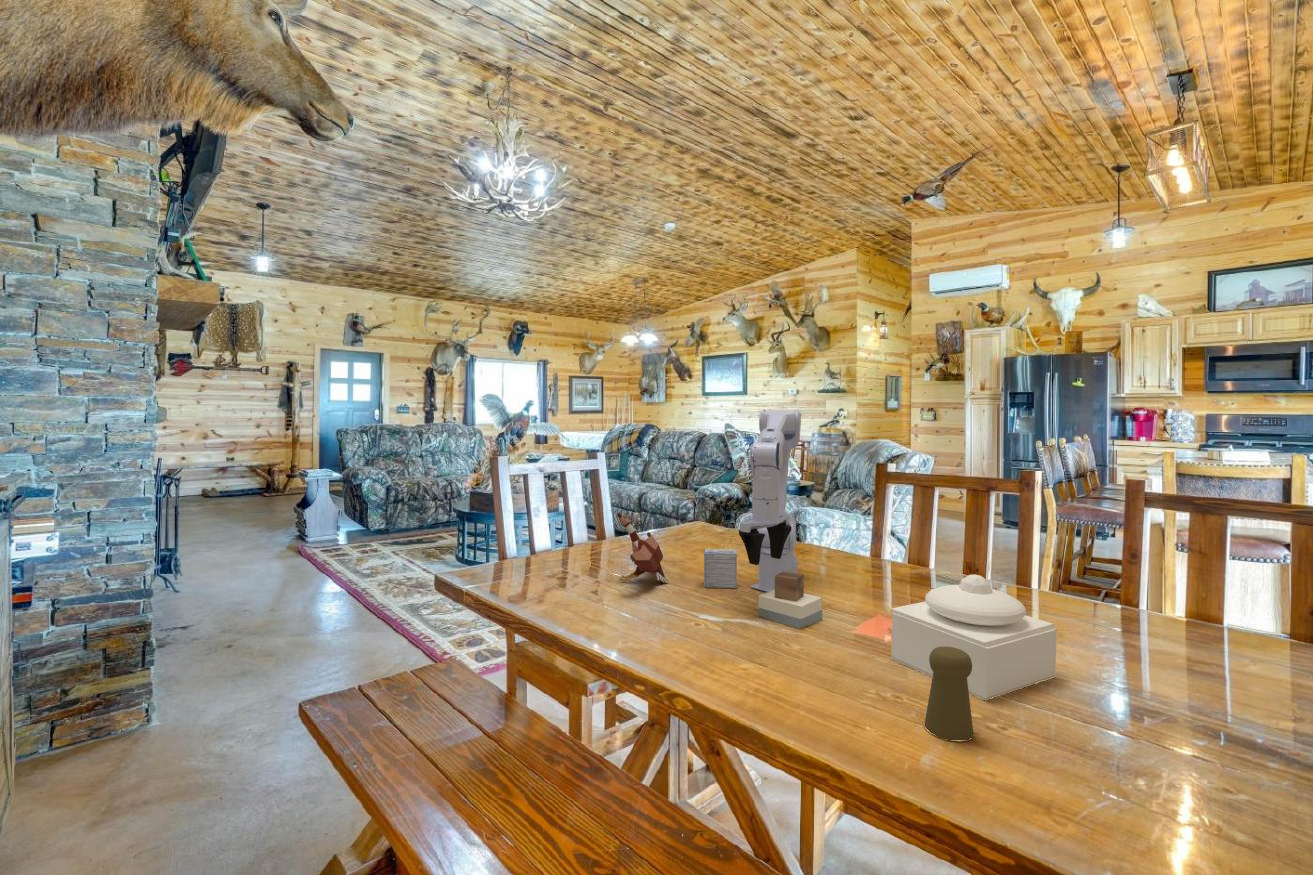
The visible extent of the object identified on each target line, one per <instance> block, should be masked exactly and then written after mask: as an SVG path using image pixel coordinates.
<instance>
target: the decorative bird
mask: <svg viewBox="0 0 1313 875" xmlns="http://www.w3.org/2000/svg"><path fill="white" fill-rule="evenodd" d="M616 516H617V517H618V519H619V522H620V524H621V526H623V528H625V530H626V531H627V533H628V535H629V538H630V541H631V548H632V553H630V555H629V556H630V557H629V558H630V560H631V561H632V563H634V565H635V566H636V568H635V571H633V572H632V573H630V574H628V575H626V576H625V575H621V577H619V578H618V580H619V581H621V582H623V583H627V584H628V582H627V581H629V580H632V579H635V578H637V577H638V578H639V577H640V576H641V575H643V574H645V573H649V574H650V575H653V576H655V577H656V579H657V582H659V583H662V584H665V585H668V584H669V580H668V579H667V578H666V577H665V573H664V570H663V566H662V564H661V562H662V561H663V559H664V553H663V552H662V549H661V547H660V545H659V543H658V541H657V540H656V539H655V537H654V536H653V535H652V534H651V532H649V531H648V532H647V533H646V535H647V538H646V539H645V540H644V539H641V538H640V537H639V534H638V533H637V531H636V529H635V528H634V526H633V525H632V524H631V522H630V521H629V519H628V517H626V516H624V515H623V514H621V513H620V512H619V511H618V513H617V514H616Z"/></svg>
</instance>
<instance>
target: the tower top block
mask: <svg viewBox="0 0 1313 875" xmlns="http://www.w3.org/2000/svg"><path fill="white" fill-rule="evenodd" d="M822 607H823V597H820V596H816V595H812V594H808V593H804V596H803V597H801V598H800V599H799V600H797V601H790V600H784V599H778V598H775V590H772V591H770V592H765V593H762V594H760V595H758V609H759V608H762V609H766V610H769V611H773V612H777V613H780V614H784V615H788V616H791V617H795V618H799V619H803V618H805V617H807V616H809V615H811V614H814V613H816V612H818V611H820V610H822V611H823V608H822Z"/></svg>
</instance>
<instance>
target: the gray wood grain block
mask: <svg viewBox="0 0 1313 875" xmlns="http://www.w3.org/2000/svg"><path fill="white" fill-rule="evenodd" d="M703 550H704V551H703V588H706V589H708V588H710V589H713V588H715V589H716V588H717V589H737V587H738V586H737V585H738V582H737V580H738V578H737V577H738V576H737V573H738V572H737V571H738V570H737V569H738V568H737V567H738V564H737V563H738V559H737V558H738V553H737V552H738V551H737V549H733V548H732V549H731V548H705V549H703Z"/></svg>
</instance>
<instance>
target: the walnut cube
mask: <svg viewBox="0 0 1313 875" xmlns="http://www.w3.org/2000/svg"><path fill="white" fill-rule="evenodd" d="M804 580H805V576H804V573H799V572H798V573H791V572H784V571H783V572H781V573H779V574H778V575H776V576H775V598H778V599H784V600H790V601H797V600H799V599H800V598H801V597H803V596H804V594H805V593H804V592H805V591H804V590H805V589H804V588H805V587H804V586H805V584H804V583H805V582H804Z"/></svg>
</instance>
